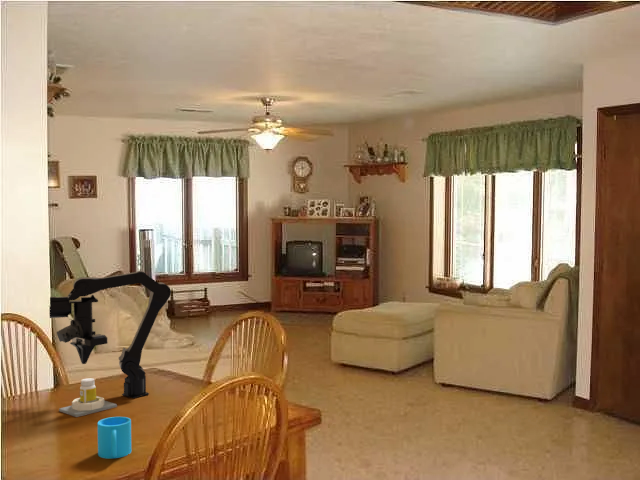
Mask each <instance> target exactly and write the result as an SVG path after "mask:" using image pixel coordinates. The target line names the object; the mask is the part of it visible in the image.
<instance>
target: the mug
mask: <svg viewBox="0 0 640 480" xmlns="http://www.w3.org/2000/svg"><path fill="white" fill-rule="evenodd" d="M128 454H129V455H130V454H132V419H131V418H130V417H127V416H112V417H111V416H110V417H106V418H101V419H100V420H98V422H97V455H98V457H100V458H102V459H118V458H123V457H124V458H125V457H127V456H129V455H128Z"/></svg>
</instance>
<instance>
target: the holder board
mask: <svg viewBox="0 0 640 480" xmlns="http://www.w3.org/2000/svg"><path fill="white" fill-rule="evenodd" d="M113 408H118V405H117V403H115V402H112V401H111V402H110V401H107V400H105V398H104V397H102V396H98V395H96V402H92V403H80V397H77V398H74V399H73V400H72V401H71V405H67V406H64V407H59V408H58V412H60V413H63V414H67V415H69V416H72V417H75V418H78V417H82V416H86V415H87V416H88V415H91V414H95V413H98V412H102V411H106V410H111V409H113Z"/></svg>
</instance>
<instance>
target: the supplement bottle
mask: <svg viewBox="0 0 640 480" xmlns="http://www.w3.org/2000/svg"><path fill="white" fill-rule="evenodd" d="M95 383H96V382H95V378H93V377H92V378H91V377H90V378H83V379H80V387H79V398H80V403H92V402H96V396H97V387H96V385H95Z"/></svg>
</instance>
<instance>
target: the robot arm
mask: <svg viewBox="0 0 640 480" xmlns="http://www.w3.org/2000/svg"><path fill="white" fill-rule="evenodd" d="M135 284H140V285H142V286H143V287H144V288H145V289H147V290H149V291H150V292H149V293H150V294H149V297H148V302H147V303H148V305H147V307H146V309H145V311H144V314H143V317H142V319H141V321H140V324H139V326H138V328H137V330H136V332H135V334H134V337H133V339H132V340H131V341H132V342H131V344H130V345H129V346H128V348H126V347H123V348H122V350H121V353H120V355H119V356H118V360H119V361H118V364H119V365H118V366H119V368H120V369H121V372H122V373H124V375H127V376H126V377H124V382H123V393H122V394H121V395H122V396H124V397H127V398H131V399H136V398H139V397H144V396H148V395H149V394H150V393H149V392H147V387H146V386H147V382H146V381H147V380H146V377H147V376H146V372H145V370H144V368H143V367H142V366H141V365H140V363H141V359H142V354H143V353H142V352H143V349H144V347H145V344H146V342H147V340H148V337H149V335H150V333H151V331H152V328H153V326H154V323H155V321H156V319H157V316H158V314H159V312H160V311H161V309H162V308H163V307H164V306H165V305H166V303H167V302H168V300H169V299H170V297H171V295H172V290H171V288H170V286H169V285H167V284H166V283H164V282H161V281H160V282H157V281H156V280H155V279H154V278H152V277H151V276H149V275H147V274H146V272H144V271H143V270H137V271H134V272H128V273H122V274H117V275H110V276H104V277H94V276H93V277H92V276H91V277H89V276H88V277H87V276H86V277H85V276H84V277H83V276H82V277H79V278H76V279H75V280H74V282H73V284H72V287H73V288H72V290H71V291H70V292H69V293H68V295H67V296H50V297H49V306H48V307H49V319H56V318H57V319H61V318H69V315H72V312H73V319H71V320H70V324H69V325H67V326H65V327H63V328H61V329H59V330H58V331H56V336H57V338H58V340H59V342H63V343H64V344H65V343H69V344H70V345H72V346H73V347H75V350H76V351H77V354H78V356H79V359H80V363H81V364H82V365H85V364H87V362H88V360H89V358H90V356H91V355H92V352H93V350H94V348H95V347H96V346H100V345H101V346H102V345H106V344H107V345H108V343H109V342H108V337H107V335H105V334H100V333H97V334H96V330H95V331H94V330H93V327H94V326H93V325H94V324H93V323H96V318H93V303H99V300H98V298H96V297H95V295H94V294H96V293H98V292H100V291H104V290H106V289H114V288H118V287H119V288H120V287H123V286H125V287H126V286H131V285H135ZM79 298H80V299H79ZM77 299H79V300H77ZM72 304H73V311H72Z"/></svg>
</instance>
